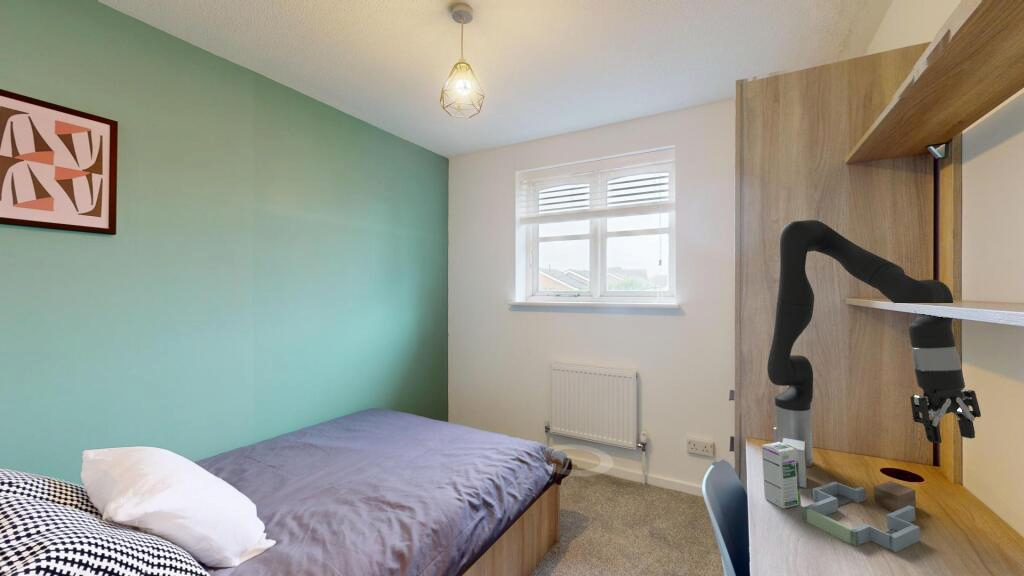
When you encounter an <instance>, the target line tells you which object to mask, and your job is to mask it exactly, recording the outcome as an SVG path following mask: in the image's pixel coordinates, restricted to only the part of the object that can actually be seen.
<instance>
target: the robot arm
mask: <svg viewBox="0 0 1024 576" xmlns="http://www.w3.org/2000/svg"><path fill="white" fill-rule="evenodd" d="M809 252H818V253H820V254H824V255H827V256H829V257H831V258H832V259H834V260H835V261H837V262H838V263H839V264H840V265H841V266H842V267H843V268H844V270H845V271H846V272H848V274H850V275H851V276H853V277H854V278H856V279H857V280H859V281H861V282H863V283H864V284H866V285H868V286H870V287H872V288H874V289H876V290H878V291H879V292H880V293H881V294H882V295H883V296H884V297H885V298H887V299H888V300H890V301H891V302H892V303H893V304H895V303H953V304H954V297H953V294H952V291H951V290H950V288H949V286H947V284H945V283H944V282H942V281H941V280H936V279H922V280H921V279H919V280H917V279H915V278H912V277H911V276H909V275H907V274H906V272H905V270H904V268H902V267H901V266H900V265H898V264H896V263H894V262H892V261H889V260H888V259H885V258H883V257H881V256H879V255H877V254H875V253H872V252H871V251H868V250H866V249H865V248H863V247H861V246H859V245H858V244H855V243H854V242H852V241H851V240H849V239H848V238H846V237H844V236H843V235H842V234H840V233H838V232H837V231H836V230H834V229H833V228H832V227H831V226H829V225H827V224H826V223H824V222H823V221H820V220H817V219H808V220H806V219H805V220H795V221H794V220H793V221H790V222H788V223H787V224H786V225H785V226H784V227H783V228H782V230H781V233H780V237H779V257H780V259H779V260H780V261H779V263H780V265H779V278H778V279H779V281H778V292H777V293H778V294H777V299H776V300H777V301H776V305H775V306H776V308H775V321H774V322H775V323H774V328H773V330H774V331H773V337H772V342H771V347H770V350H769V354H768V359H767V366H766V367H767V376H768V378H769V381H770V382H771V383H772V384H773V385H775V386H779V387H780V386H781V387H785V386H788V387H787V388H786V390H784V391H783V392H781V393H778V394H777V395H775V397H774V404H775V406H774V407H775V427H773V428H772V431H773V443H776V442H781V443H782V441H783V438H786V439H793V440H799V441H805V443H806V468H810V467H812V466H814V456H813V452H814V451H813V431H812V430H813V429H812V410H811V407H812V405H811V404H812V402H813V397H814V369H813V366H812V364H811V362H810V360H809V359H808V358H807V357H806V356H804V355H800V354H799V355H798V354H796V355H795V354H794V355H793V354H792V350H793V346H794V344H795V342H796V341H797V340H798V338H799V337H800V336H801V335H802V333H803V332H804V331H805V329H807V327H808V326H809V325H810V322H811V321H812V319H813V314H814V307H815V293H814V290H813V288H812V285H811V283H810V280H809V279H808V275H807V271H806V263H807V255H808V253H809ZM952 322H953V317H952V318H943V317H936V316H931V315H925V314H917V313H916V312H915V320H914V321H913V322H912V323H911V324H909V326H908V335H909V339H910V345H911V351H912V353H911V356H912V357H911V358H912V362H913V369H914V373H915V374H914V375H915V378H916V379H915V380H916V383H917V386H918V387H919V388H920V389H922V391H923V392H922V395H913V394H912V395H911V396H910V405H911V412H912V419H913V422H915V423H918V424H922V425H923V426H924V431H925V437H926V439H927V440H928V442H930V443H933V444H941V443H942V436H941V430H940V426H938V425H939V423H940V420H941V419H943V418H944V416H945V415H947V414H950V413H953V415H954V416H955V417H956V418H957V423H958V428H959V433H960V434H959V435H960V436H961V437H963V438H966V439H974V438H976V431H975V426H974V421H975V419H976V418H981V416H982V414H981V409H980V406H979V402H978V399H977V394H976V391H975V390H971V389H965V387H966V384H965V378H964V373H963V370H962V369H963V368H962V363H961V360H960V359H961V358H960V356H959V353H958V350H957V348H956V343H955V342H956V341H955V338H954V334H953V333H954V332H953V330H952ZM970 407H971V408H972V409H971V408H970ZM970 409H971V410H970ZM920 413H921V415H920ZM931 417H932V418H931Z"/></svg>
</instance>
